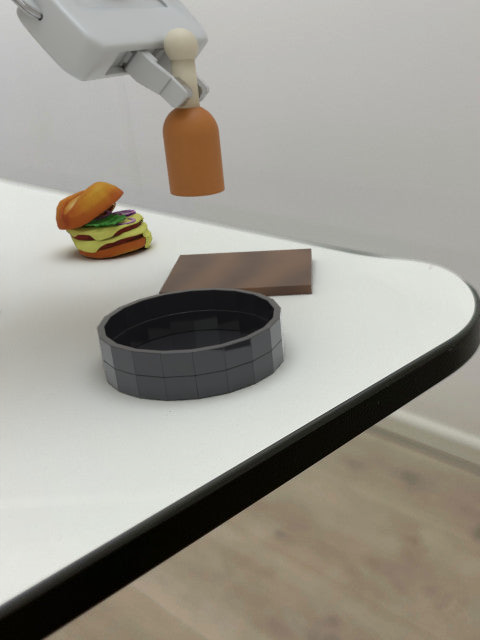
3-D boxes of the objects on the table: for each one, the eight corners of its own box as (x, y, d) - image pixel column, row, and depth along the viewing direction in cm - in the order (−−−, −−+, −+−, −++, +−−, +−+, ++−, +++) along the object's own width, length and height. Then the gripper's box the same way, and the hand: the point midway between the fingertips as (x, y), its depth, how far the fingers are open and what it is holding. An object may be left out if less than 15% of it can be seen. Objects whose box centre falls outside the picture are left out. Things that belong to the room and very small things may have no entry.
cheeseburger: (153, 256, 98) (120, 181, 93) (72, 282, 98) (36, 208, 93) (158, 235, 107) (129, 165, 102) (85, 258, 107) (52, 190, 102)
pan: (85, 411, 59) (74, 358, 58) (128, 336, 73) (120, 292, 71) (281, 399, 60) (276, 347, 58) (287, 328, 74) (283, 283, 72)
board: (160, 305, 81) (158, 292, 80) (181, 266, 94) (180, 254, 93) (312, 297, 82) (311, 284, 81) (312, 260, 94) (311, 248, 94)
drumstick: (166, 197, 66) (143, 29, 61) (175, 186, 71) (155, 28, 65) (221, 195, 66) (204, 27, 61) (227, 184, 71) (211, 26, 65)
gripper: (7, -67, 53) (156, 81, 55) (149, -48, 71) (258, 63, 73) (-32, 6, 56) (111, 145, 57) (114, 7, 74) (219, 112, 75)
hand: (194, 99), depth 65 cm, fingers closed on drumstick
